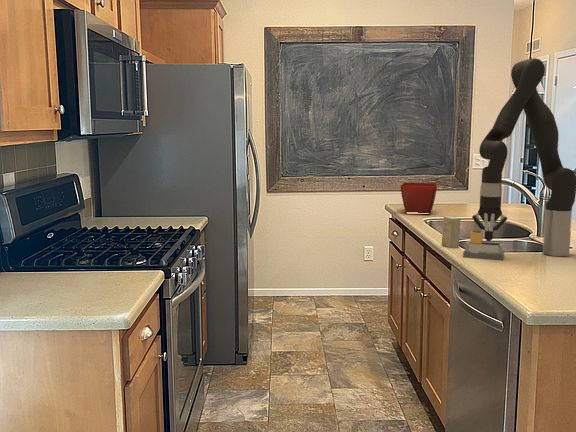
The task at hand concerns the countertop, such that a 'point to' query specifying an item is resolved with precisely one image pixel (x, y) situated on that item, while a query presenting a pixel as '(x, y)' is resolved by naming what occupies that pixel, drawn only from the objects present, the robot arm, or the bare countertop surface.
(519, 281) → the countertop surface
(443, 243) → the skincare box
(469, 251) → the grey tray
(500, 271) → the countertop surface
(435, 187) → the plant pot
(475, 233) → the toggle
